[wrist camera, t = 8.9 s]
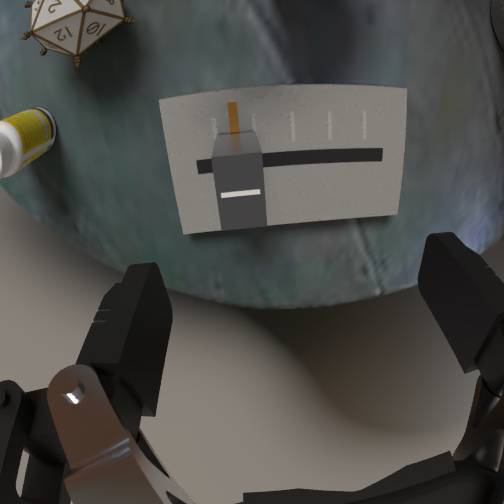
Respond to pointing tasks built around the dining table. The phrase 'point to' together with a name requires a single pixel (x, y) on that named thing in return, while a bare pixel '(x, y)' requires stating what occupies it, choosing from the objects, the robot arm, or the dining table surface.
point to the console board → (292, 149)
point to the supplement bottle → (24, 139)
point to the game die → (73, 24)
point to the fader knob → (239, 181)
